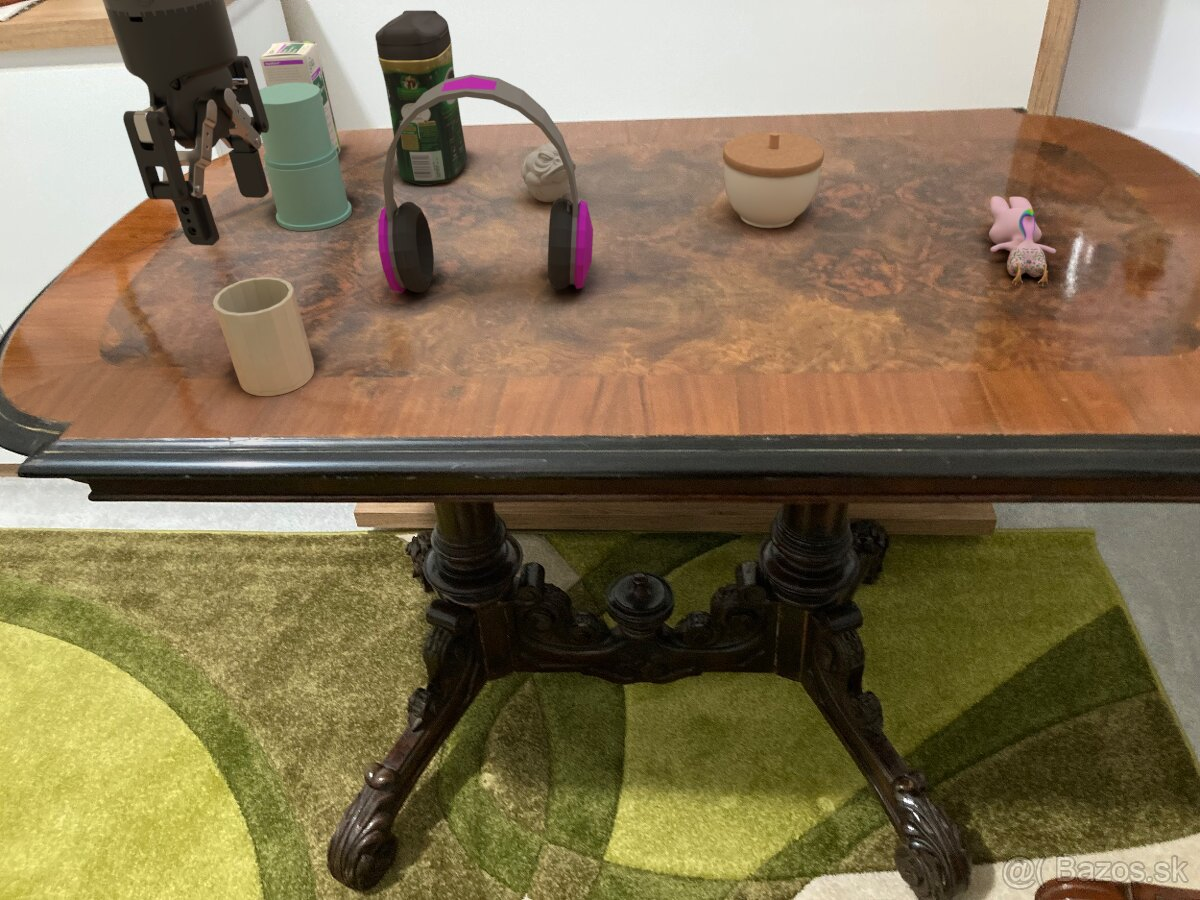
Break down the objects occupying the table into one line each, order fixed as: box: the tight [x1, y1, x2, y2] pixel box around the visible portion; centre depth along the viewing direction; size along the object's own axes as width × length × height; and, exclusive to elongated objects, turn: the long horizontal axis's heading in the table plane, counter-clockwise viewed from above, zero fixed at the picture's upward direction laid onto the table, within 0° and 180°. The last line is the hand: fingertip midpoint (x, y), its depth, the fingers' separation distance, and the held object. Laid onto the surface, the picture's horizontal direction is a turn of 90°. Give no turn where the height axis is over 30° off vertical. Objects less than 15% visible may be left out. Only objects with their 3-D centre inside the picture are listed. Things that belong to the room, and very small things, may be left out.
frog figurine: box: [520, 141, 577, 203], centre depth 106 cm, size 6×7×7 cm
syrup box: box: [258, 40, 342, 155], centre depth 115 cm, size 6×6×14 cm
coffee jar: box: [374, 9, 468, 186], centre depth 111 cm, size 10×8×19 cm
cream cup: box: [212, 276, 315, 397], centre depth 79 cm, size 6×6×8 cm
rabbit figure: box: [988, 195, 1057, 287], centre depth 93 cm, size 6×6×15 cm
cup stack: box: [259, 83, 353, 232], centre depth 103 cm, size 9×9×14 cm
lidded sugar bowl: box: [722, 131, 825, 229], centre depth 100 cm, size 11×11×9 cm
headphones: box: [377, 73, 594, 294], centre depth 86 cm, size 21×9×20 cm, turn 90°
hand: (231, 218), depth 72 cm, fingers open, 8 cm apart
